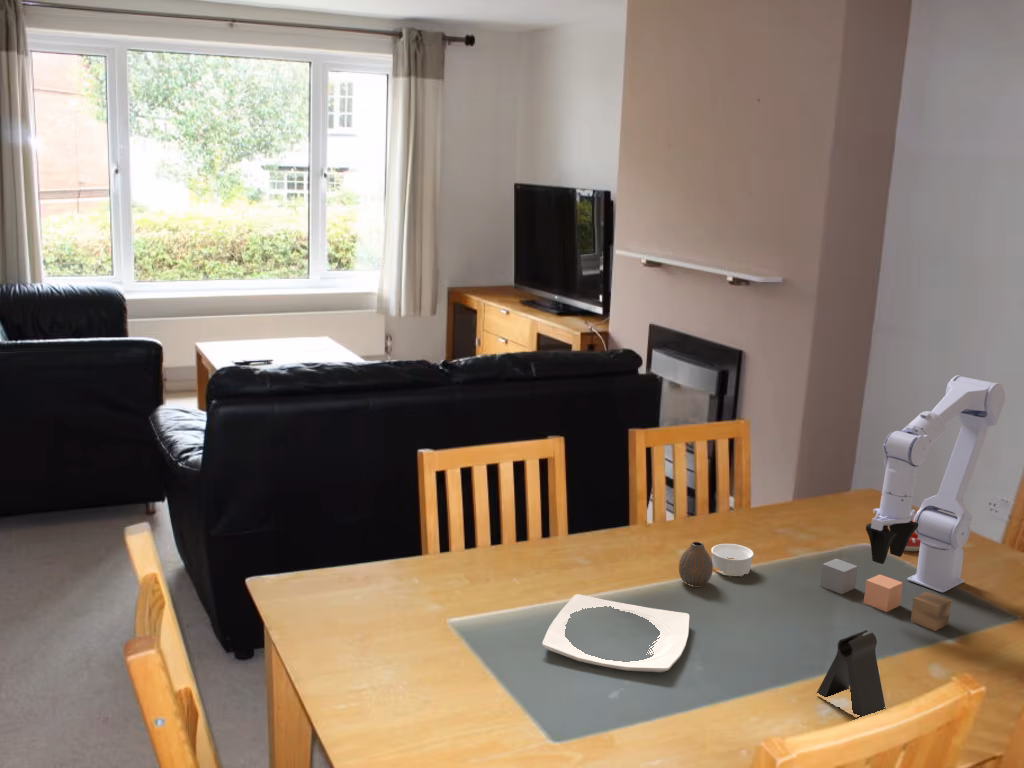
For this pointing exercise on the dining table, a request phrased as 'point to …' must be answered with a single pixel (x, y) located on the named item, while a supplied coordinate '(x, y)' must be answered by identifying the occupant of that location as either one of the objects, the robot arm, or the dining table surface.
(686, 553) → the vase
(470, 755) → the dining table surface
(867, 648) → the phone stand
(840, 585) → the slate block
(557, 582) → the dining table surface
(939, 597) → the walnut block
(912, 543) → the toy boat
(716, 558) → the ramekin
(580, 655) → the plate
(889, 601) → the terracotta block
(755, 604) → the dining table surface
